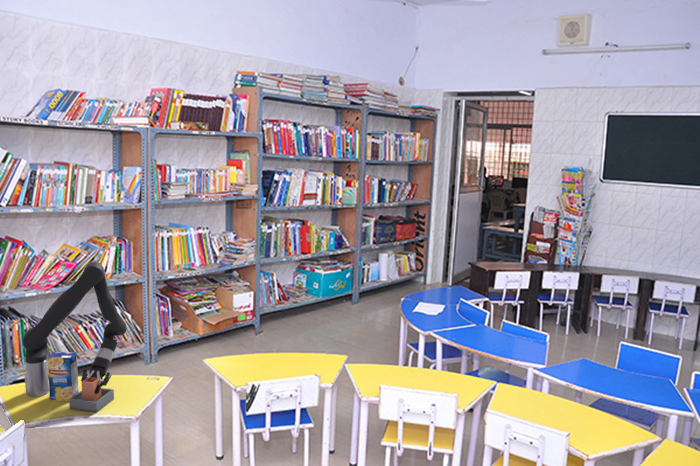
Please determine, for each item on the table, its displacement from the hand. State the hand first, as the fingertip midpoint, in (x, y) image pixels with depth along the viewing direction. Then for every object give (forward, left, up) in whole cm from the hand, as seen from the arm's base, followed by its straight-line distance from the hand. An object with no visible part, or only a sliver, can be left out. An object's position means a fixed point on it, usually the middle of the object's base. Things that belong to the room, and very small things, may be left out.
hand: (89, 392), depth 268 cm
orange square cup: (0, +2, -4) cm, 5 cm away
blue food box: (-17, +5, -7) cm, 19 cm away
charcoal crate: (0, +2, -7) cm, 7 cm away
